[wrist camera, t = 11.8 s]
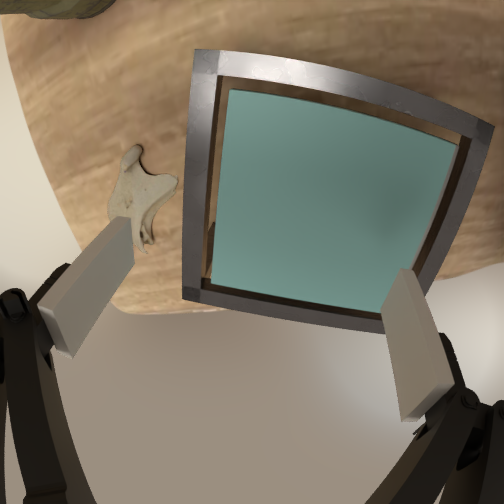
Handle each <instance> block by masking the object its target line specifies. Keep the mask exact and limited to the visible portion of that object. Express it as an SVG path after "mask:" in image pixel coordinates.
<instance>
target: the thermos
mask: <svg viewBox="0 0 504 504" xmlns="http://www.w3.org/2000/svg"><path fill="white" fill-rule="evenodd" d="M115 1H116V0H0V14H22V13H25V14H26V15H28V16H30V17H32V18H38V19H71V18H78V19H84V18H91V17H94V16H96V15H98V14H100V13H102V12H104V11H105V10H106V9H107V8H108V7H110V6H111V5H112V4H113V3H114V2H115Z"/></svg>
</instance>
